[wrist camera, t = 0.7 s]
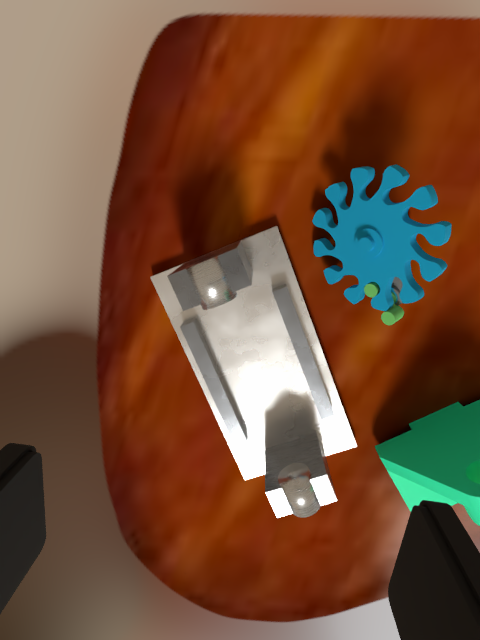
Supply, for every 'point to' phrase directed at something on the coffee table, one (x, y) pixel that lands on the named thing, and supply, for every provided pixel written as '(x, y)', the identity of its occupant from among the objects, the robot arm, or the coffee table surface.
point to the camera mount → (438, 458)
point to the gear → (380, 241)
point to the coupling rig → (260, 367)
